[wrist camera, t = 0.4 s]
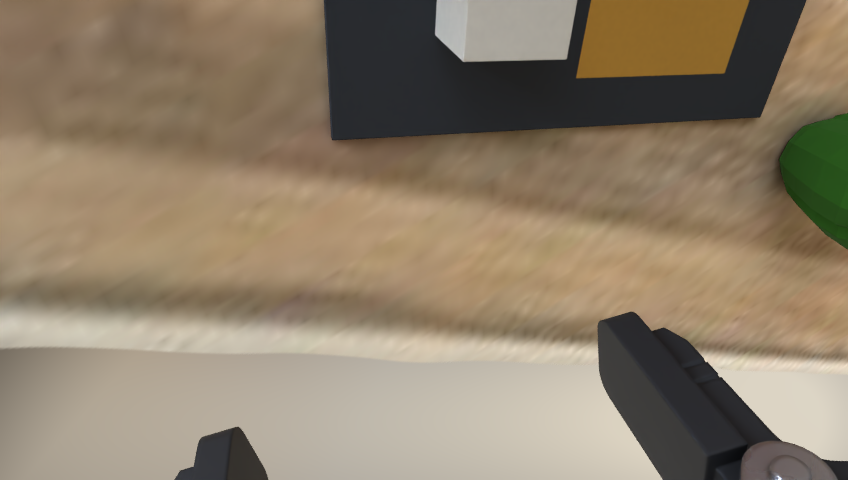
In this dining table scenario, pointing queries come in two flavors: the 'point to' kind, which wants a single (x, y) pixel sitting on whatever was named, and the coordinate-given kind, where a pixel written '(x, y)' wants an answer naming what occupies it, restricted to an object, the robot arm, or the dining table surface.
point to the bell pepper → (820, 174)
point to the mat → (555, 68)
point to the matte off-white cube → (506, 29)
